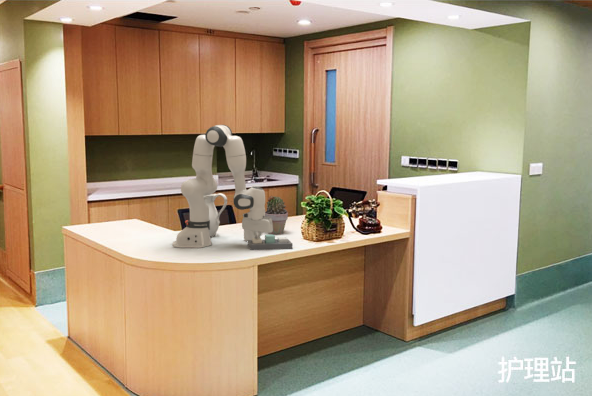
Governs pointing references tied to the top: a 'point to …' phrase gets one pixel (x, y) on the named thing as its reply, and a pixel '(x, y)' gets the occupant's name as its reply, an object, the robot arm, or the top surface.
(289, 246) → the keypad
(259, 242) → the key left
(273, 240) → the key mid
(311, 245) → the top surface
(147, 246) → the top surface
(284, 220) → the potted plant
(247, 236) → the mug
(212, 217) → the pitcher
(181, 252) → the top surface
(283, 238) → the key right
